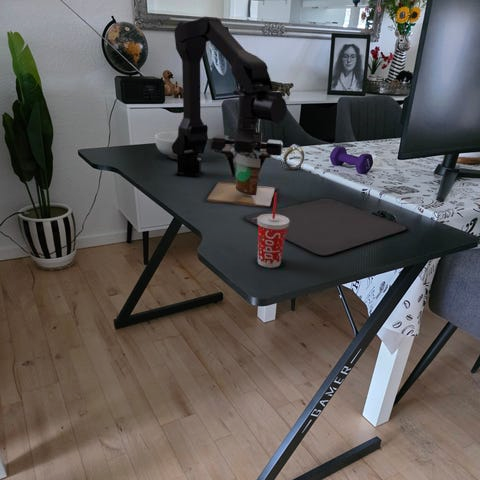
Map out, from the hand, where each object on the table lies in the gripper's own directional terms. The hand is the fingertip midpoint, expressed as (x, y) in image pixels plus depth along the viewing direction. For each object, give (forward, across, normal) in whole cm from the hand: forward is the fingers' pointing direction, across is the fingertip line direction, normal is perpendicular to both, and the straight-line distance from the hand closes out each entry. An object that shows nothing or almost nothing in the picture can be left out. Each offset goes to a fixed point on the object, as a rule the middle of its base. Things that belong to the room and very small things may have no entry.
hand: (244, 177), depth 123 cm
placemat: (+5, 0, 0) cm, 5 cm away
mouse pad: (+5, +23, -16) cm, 28 cm away
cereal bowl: (+5, -28, +36) cm, 46 cm away
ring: (+5, +12, +34) cm, 36 cm away
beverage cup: (+5, +11, -42) cm, 44 cm away
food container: (+3, 0, 0) cm, 3 cm away
